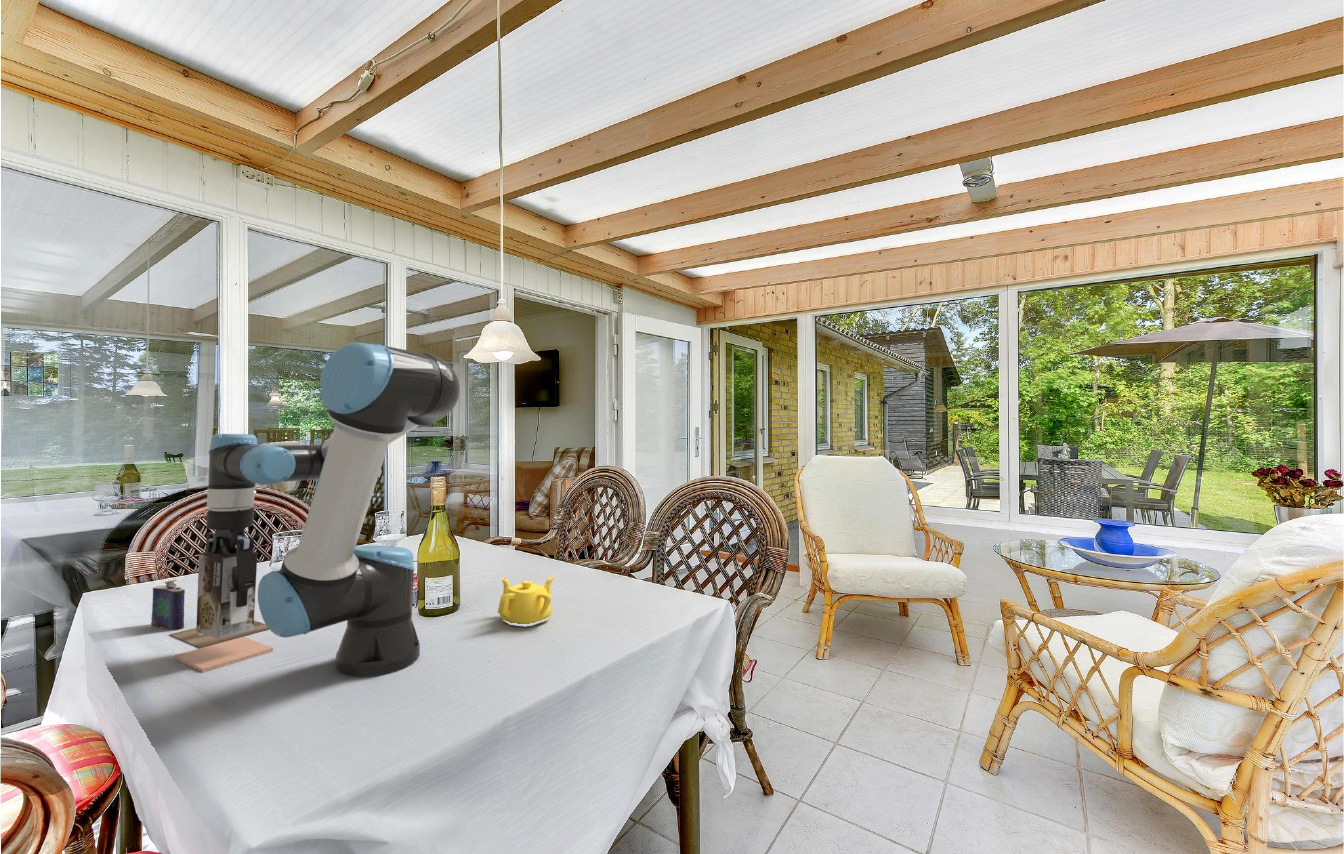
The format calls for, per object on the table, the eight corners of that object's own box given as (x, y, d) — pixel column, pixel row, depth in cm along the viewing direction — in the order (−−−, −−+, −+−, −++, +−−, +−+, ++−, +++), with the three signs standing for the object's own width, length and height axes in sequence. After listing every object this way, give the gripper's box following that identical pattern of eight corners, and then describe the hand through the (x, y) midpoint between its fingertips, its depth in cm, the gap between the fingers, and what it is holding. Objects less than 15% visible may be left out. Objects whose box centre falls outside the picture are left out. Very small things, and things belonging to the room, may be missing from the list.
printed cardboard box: (255, 629, 111) (259, 552, 111) (218, 640, 105) (222, 558, 106) (231, 622, 115) (234, 546, 115) (194, 631, 109) (198, 552, 109)
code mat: (274, 627, 125) (274, 626, 125) (199, 648, 113) (199, 646, 113) (243, 617, 132) (243, 616, 132) (169, 635, 119) (169, 634, 119)
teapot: (553, 611, 143) (554, 574, 143) (552, 629, 130) (553, 588, 130) (499, 613, 140) (501, 575, 140) (492, 631, 127) (494, 589, 127)
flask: (148, 625, 125) (150, 579, 125) (163, 621, 127) (166, 576, 128) (173, 631, 122) (176, 584, 122) (188, 627, 124) (191, 580, 125)
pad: (273, 650, 113) (273, 647, 113) (202, 672, 102) (202, 668, 102) (243, 639, 118) (243, 636, 118) (173, 658, 107) (173, 655, 108)
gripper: (280, 511, 109) (275, 622, 109) (226, 501, 119) (221, 603, 119) (236, 515, 102) (231, 633, 102) (183, 505, 112) (178, 612, 112)
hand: (225, 617), depth 110 cm, fingers closed on printed cardboard box, 9 cm apart
